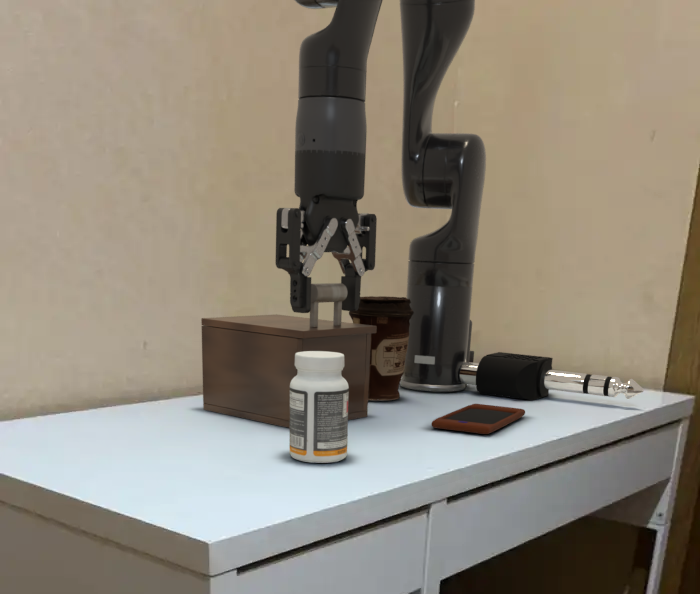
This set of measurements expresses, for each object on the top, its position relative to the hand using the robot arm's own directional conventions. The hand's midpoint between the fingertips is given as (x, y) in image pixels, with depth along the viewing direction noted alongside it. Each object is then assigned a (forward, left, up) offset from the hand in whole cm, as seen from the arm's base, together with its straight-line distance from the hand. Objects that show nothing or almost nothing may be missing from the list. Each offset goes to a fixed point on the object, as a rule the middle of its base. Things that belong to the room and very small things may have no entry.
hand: (326, 311), depth 105 cm
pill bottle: (+15, +13, -12) cm, 23 cm away
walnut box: (0, -6, -12) cm, 14 cm away
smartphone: (-14, +13, -12) cm, 23 cm away
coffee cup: (-18, -6, -12) cm, 23 cm away
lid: (0, -6, -2) cm, 6 cm away
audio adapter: (-38, +9, -12) cm, 41 cm away
